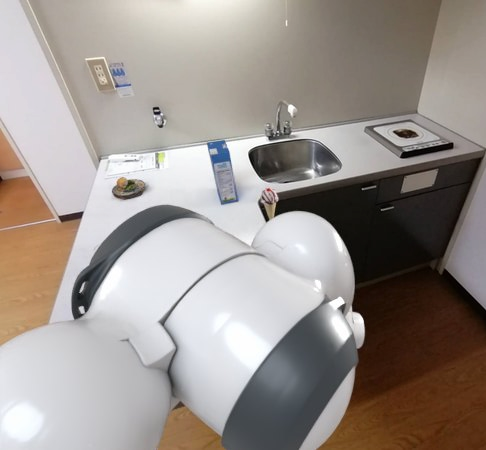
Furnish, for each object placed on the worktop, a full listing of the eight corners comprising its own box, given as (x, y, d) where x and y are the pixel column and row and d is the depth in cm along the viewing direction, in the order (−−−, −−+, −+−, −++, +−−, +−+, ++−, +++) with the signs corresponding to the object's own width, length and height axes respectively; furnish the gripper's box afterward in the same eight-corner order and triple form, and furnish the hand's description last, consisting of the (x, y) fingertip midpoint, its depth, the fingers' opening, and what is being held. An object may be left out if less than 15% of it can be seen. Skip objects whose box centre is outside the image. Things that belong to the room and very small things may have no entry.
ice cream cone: (259, 226, 102) (255, 188, 92) (271, 218, 105) (268, 180, 96) (271, 233, 99) (268, 195, 90) (283, 224, 103) (281, 187, 93)
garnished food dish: (147, 194, 117) (140, 177, 112) (113, 202, 113) (105, 185, 108) (144, 179, 125) (138, 163, 121) (113, 187, 121) (105, 170, 117)
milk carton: (238, 201, 113) (229, 151, 100) (221, 205, 112) (210, 155, 99) (233, 187, 120) (224, 139, 107) (217, 190, 119) (206, 142, 106)
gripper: (289, 283, 73) (231, 283, 73) (285, 370, 57) (211, 370, 57) (289, 299, 77) (234, 299, 77) (286, 384, 61) (218, 384, 61)
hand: (224, 330), depth 67 cm, fingers open, 8 cm apart
